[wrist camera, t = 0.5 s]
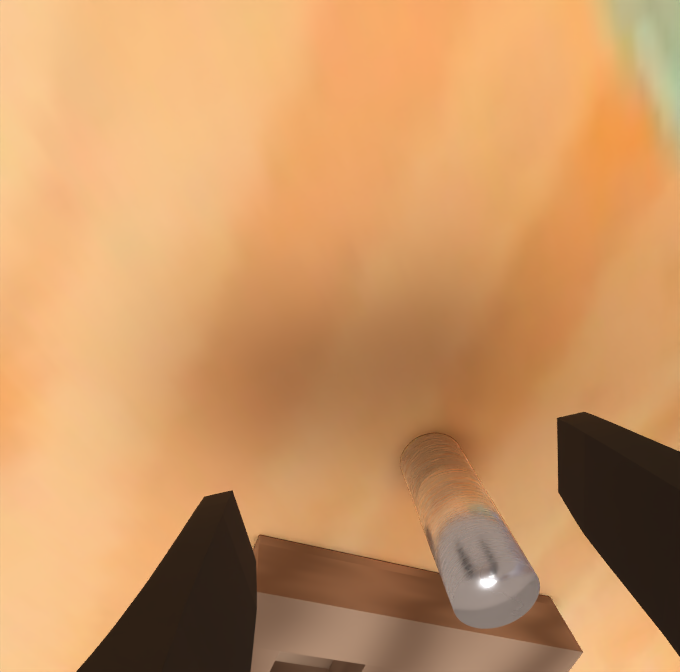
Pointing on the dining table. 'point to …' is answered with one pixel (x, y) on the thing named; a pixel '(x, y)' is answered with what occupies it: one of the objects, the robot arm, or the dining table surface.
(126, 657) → the robot arm
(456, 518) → the pin
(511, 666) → the hole block
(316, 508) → the dining table surface
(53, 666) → the dining table surface
